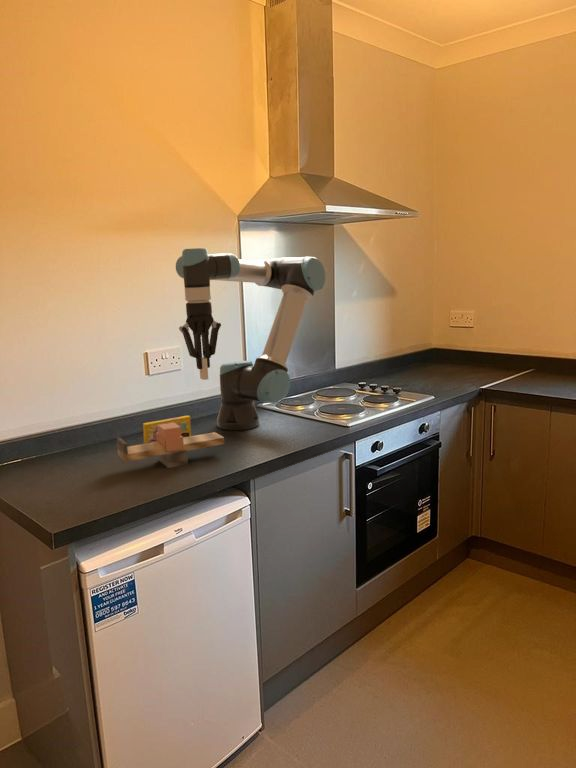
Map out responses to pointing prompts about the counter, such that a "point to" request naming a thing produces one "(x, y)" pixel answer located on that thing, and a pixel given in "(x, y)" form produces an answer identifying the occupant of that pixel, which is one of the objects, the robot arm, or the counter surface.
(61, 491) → the counter surface
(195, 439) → the beam
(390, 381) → the counter surface
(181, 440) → the block
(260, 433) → the counter surface
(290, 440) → the counter surface
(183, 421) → the candy box
